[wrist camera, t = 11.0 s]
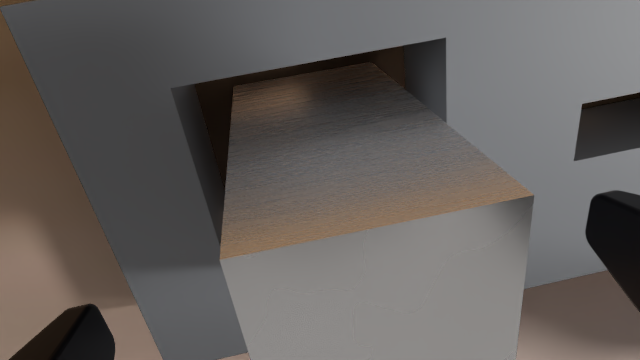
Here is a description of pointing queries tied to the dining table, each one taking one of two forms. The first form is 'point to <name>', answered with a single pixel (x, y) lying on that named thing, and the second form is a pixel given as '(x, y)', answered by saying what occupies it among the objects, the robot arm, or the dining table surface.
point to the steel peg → (367, 226)
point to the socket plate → (310, 46)
